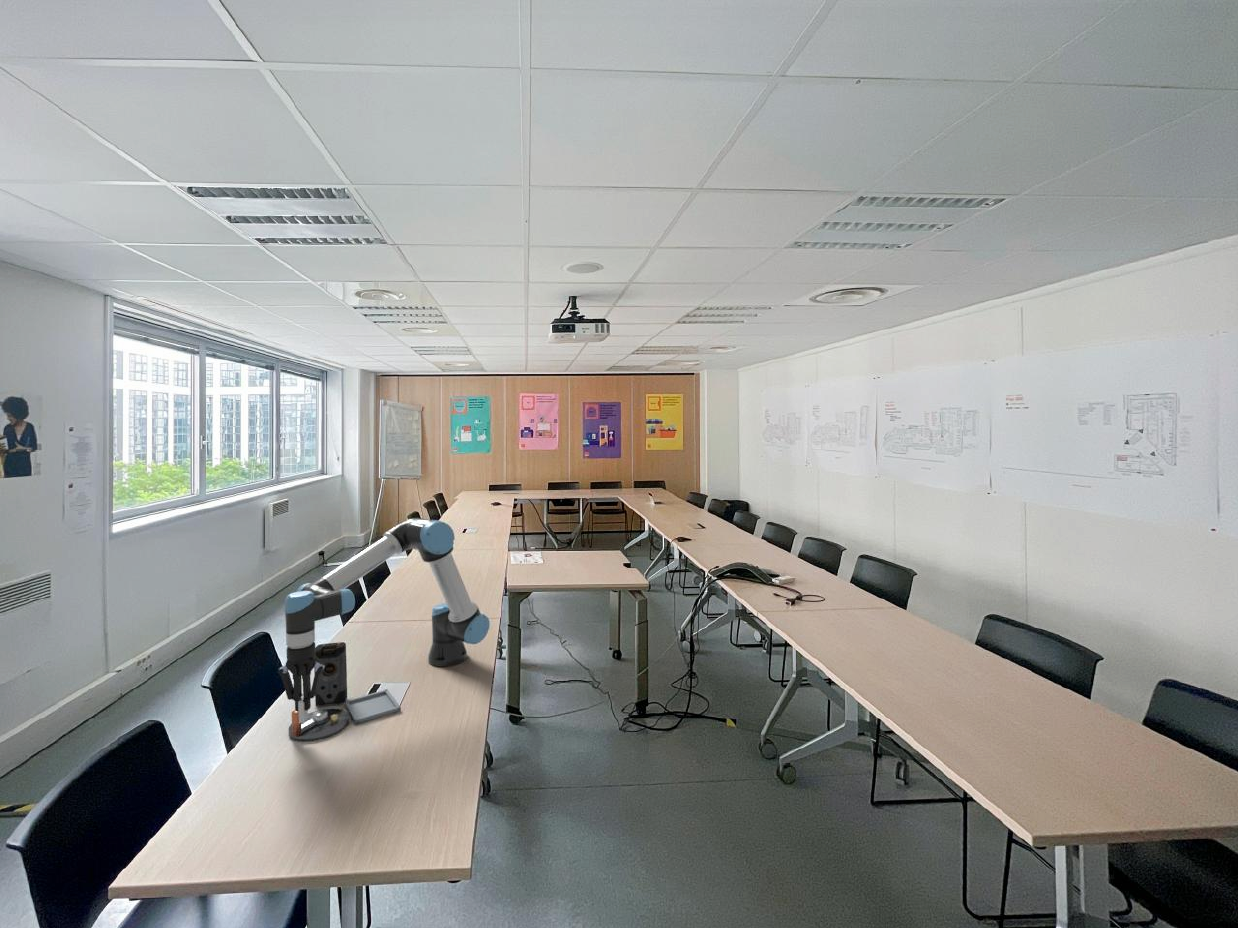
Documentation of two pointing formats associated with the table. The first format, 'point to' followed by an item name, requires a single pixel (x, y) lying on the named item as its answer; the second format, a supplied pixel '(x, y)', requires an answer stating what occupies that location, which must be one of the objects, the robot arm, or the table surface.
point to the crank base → (324, 726)
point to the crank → (316, 719)
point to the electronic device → (332, 674)
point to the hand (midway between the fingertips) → (303, 720)
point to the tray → (372, 706)
